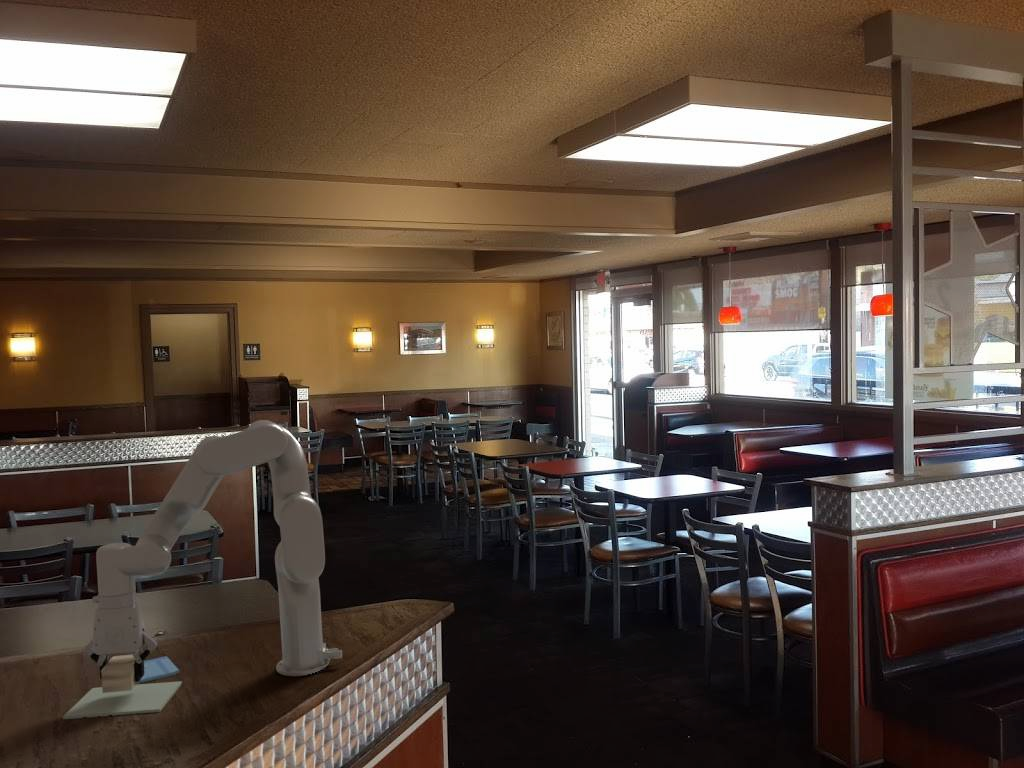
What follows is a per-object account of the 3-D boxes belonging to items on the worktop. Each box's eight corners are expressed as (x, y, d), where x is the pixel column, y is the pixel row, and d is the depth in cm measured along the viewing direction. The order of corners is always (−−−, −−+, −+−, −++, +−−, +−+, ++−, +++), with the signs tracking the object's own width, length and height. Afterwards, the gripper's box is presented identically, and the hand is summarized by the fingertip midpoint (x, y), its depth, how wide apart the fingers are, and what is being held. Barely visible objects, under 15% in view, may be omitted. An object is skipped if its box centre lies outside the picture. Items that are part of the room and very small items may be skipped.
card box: (131, 690, 195) (130, 667, 195) (102, 693, 194) (101, 670, 194) (142, 675, 204) (141, 653, 204) (114, 678, 203) (113, 656, 203)
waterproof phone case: (180, 675, 215) (179, 670, 215) (126, 688, 208) (125, 682, 208) (166, 660, 226) (166, 655, 226) (115, 672, 219) (115, 667, 219)
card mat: (181, 683, 208) (181, 681, 208) (160, 711, 192) (159, 709, 192) (92, 690, 207) (92, 687, 206) (63, 719, 191) (62, 716, 191)
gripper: (70, 607, 194) (75, 689, 195) (152, 602, 195) (157, 684, 196) (84, 598, 201) (89, 677, 202) (163, 593, 203) (168, 671, 203)
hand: (122, 679), depth 199 cm, fingers closed on card box, 6 cm apart
